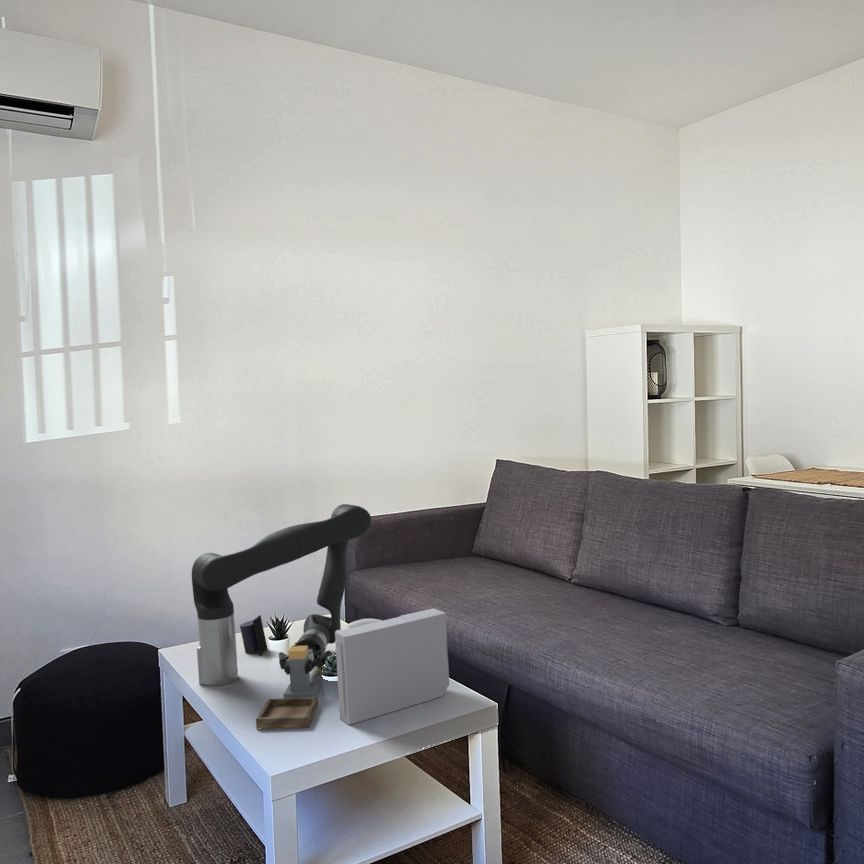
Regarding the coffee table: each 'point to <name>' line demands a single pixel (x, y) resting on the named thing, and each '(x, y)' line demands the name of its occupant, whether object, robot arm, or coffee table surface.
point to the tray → (287, 713)
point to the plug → (299, 674)
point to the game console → (391, 664)
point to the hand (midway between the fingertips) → (297, 670)
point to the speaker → (253, 636)
